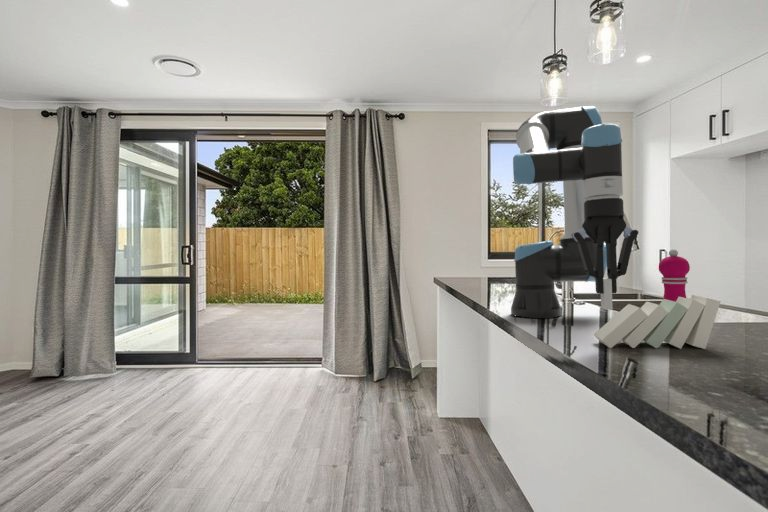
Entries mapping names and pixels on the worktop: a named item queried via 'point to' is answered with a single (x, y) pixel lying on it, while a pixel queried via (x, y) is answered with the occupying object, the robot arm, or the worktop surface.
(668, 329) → the tile
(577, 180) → the robot arm
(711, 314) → the tile
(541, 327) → the worktop surface
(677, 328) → the tile
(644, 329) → the tile
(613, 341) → the tile
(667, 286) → the pepper mill
